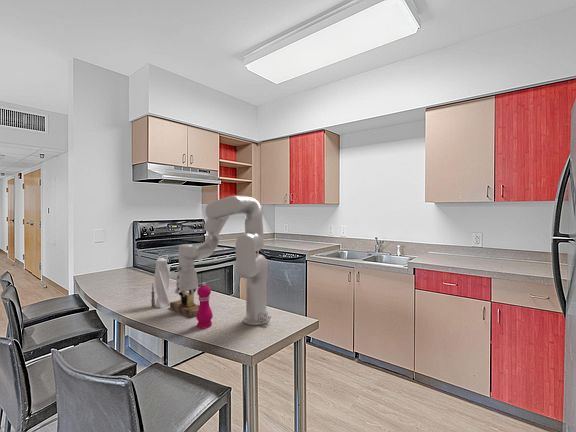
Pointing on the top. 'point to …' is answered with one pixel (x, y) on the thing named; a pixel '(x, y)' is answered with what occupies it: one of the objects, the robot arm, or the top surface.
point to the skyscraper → (161, 283)
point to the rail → (184, 308)
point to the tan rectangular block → (189, 300)
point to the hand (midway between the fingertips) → (187, 302)
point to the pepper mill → (204, 307)
